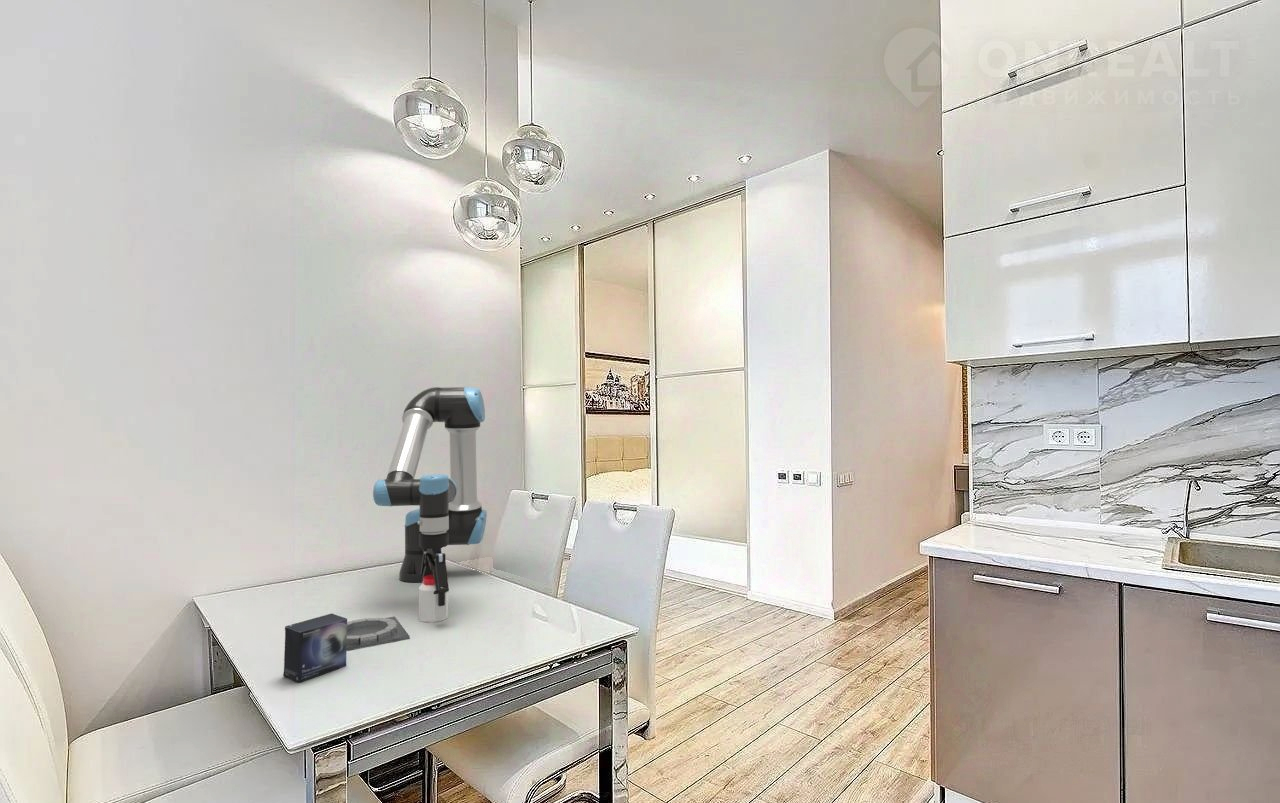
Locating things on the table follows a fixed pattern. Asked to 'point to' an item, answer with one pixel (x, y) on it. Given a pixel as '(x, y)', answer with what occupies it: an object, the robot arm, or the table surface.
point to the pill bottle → (429, 600)
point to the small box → (315, 647)
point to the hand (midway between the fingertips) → (433, 611)
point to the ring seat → (374, 632)
